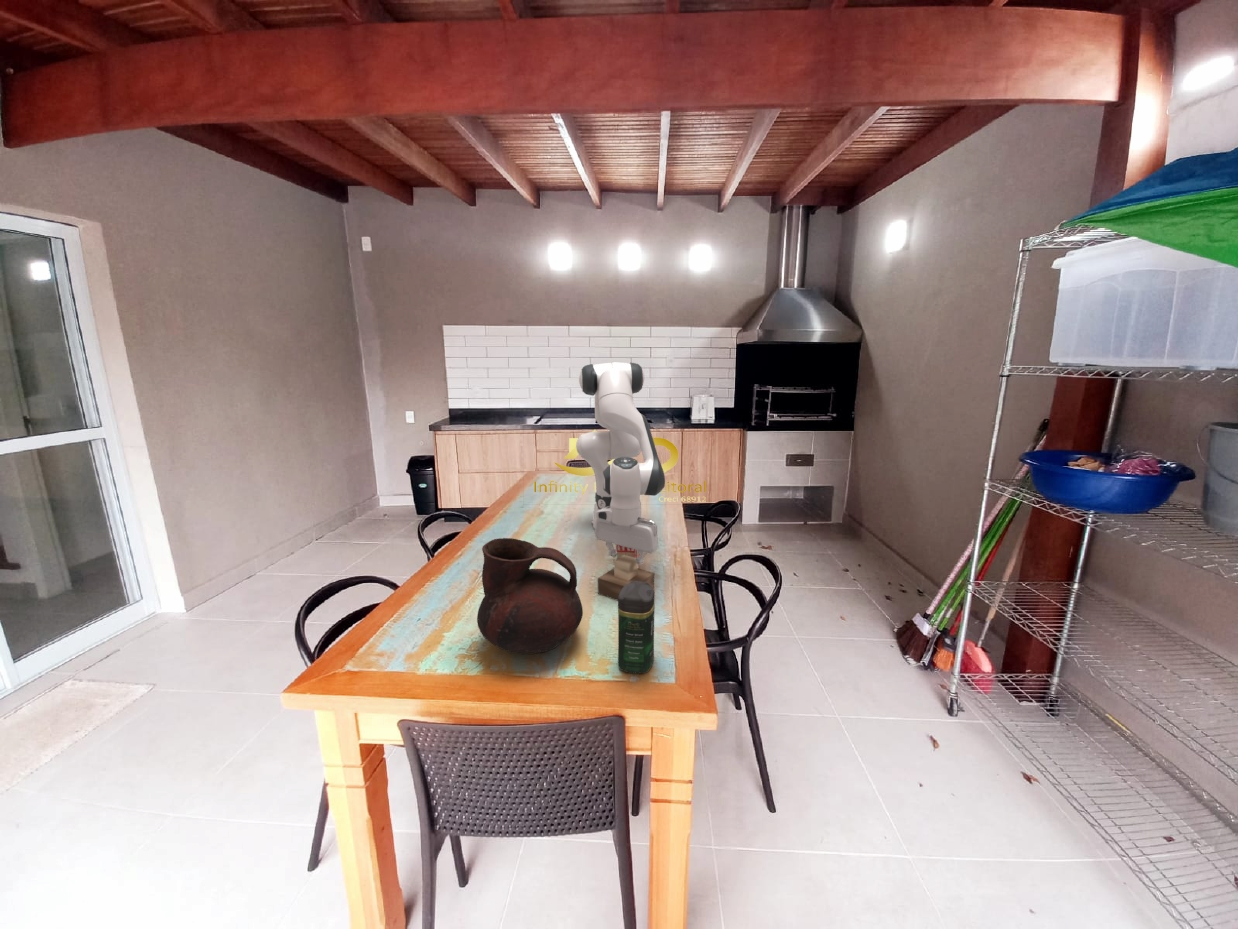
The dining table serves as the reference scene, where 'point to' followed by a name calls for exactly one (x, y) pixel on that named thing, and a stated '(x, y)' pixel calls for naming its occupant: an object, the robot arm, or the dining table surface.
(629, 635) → the coffee jar
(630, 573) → the beige wooden cube
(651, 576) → the walnut block
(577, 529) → the dining table surface
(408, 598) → the dining table surface
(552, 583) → the jug
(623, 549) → the stack of blocks
